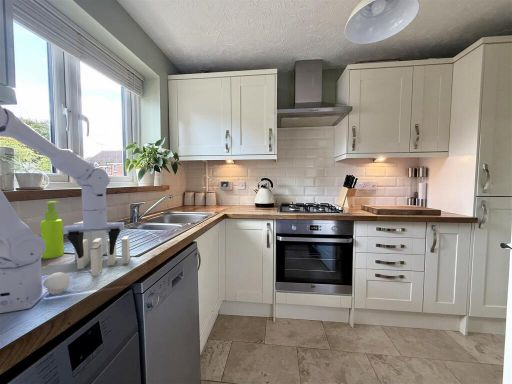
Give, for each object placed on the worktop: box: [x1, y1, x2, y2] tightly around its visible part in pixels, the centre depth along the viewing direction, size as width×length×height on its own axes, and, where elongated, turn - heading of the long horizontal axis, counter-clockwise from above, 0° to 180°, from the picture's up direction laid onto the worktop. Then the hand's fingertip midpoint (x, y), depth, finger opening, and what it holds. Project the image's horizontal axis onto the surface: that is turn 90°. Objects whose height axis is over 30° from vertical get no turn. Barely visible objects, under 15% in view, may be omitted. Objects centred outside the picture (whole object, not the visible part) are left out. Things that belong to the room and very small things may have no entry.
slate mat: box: [41, 256, 132, 277], centre depth 73 cm, size 9×24×1 cm, turn 111°
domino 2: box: [92, 238, 104, 262], centre depth 74 cm, size 5×2×8 cm, turn 21°
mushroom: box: [42, 272, 71, 296], centre depth 56 cm, size 5×5×5 cm
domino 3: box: [90, 244, 103, 277], centre depth 68 cm, size 5×2×8 cm, turn 21°
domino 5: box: [121, 235, 131, 264], centre depth 77 cm, size 5×2×8 cm, turn 21°
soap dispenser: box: [40, 200, 65, 259], centre depth 83 cm, size 6×7×20 cm
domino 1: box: [76, 239, 89, 269], centre depth 73 cm, size 5×2×8 cm, turn 21°
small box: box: [72, 220, 108, 261], centre depth 83 cm, size 8×6×13 cm
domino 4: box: [106, 238, 118, 265], centre depth 76 cm, size 5×2×8 cm, turn 21°
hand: (96, 255), depth 68 cm, fingers open, 7 cm apart
